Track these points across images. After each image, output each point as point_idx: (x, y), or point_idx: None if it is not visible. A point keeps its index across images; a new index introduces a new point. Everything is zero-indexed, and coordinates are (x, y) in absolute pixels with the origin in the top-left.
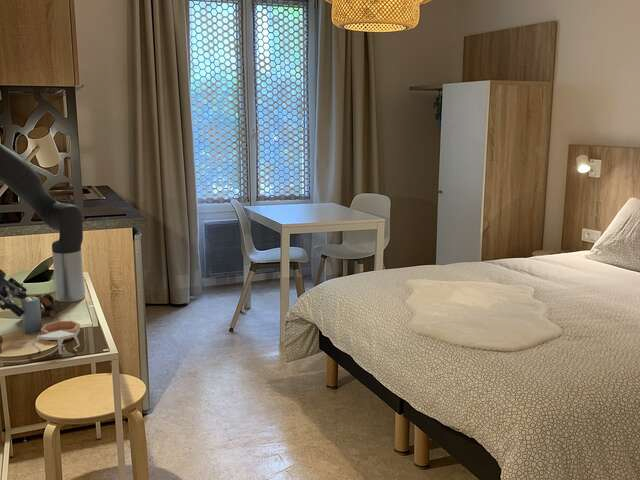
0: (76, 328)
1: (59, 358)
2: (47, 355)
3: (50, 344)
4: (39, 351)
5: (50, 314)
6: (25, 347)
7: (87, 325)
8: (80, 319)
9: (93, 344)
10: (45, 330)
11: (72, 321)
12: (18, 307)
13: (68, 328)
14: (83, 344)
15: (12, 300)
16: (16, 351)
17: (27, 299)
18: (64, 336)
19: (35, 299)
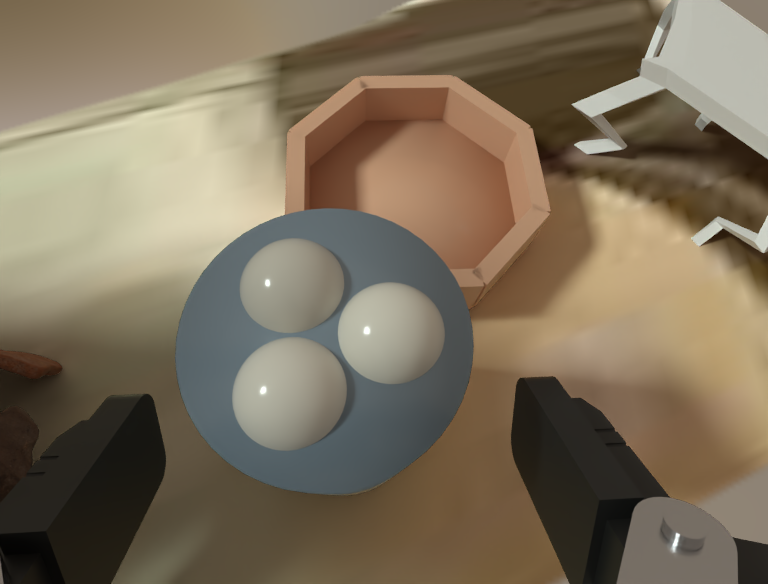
0: (436, 78)
1: None
2: (738, 179)
3: (580, 215)
4: (701, 238)
5: (41, 366)
6: (662, 349)
7: (244, 109)
8: (113, 174)
9: (542, 24)
10: (506, 241)
11: (307, 126)
12: (595, 433)
13: (330, 177)
14: (549, 62)
15: (649, 560)
16: (742, 382)
17: (410, 337)
18: (743, 21)
19: (330, 252)
